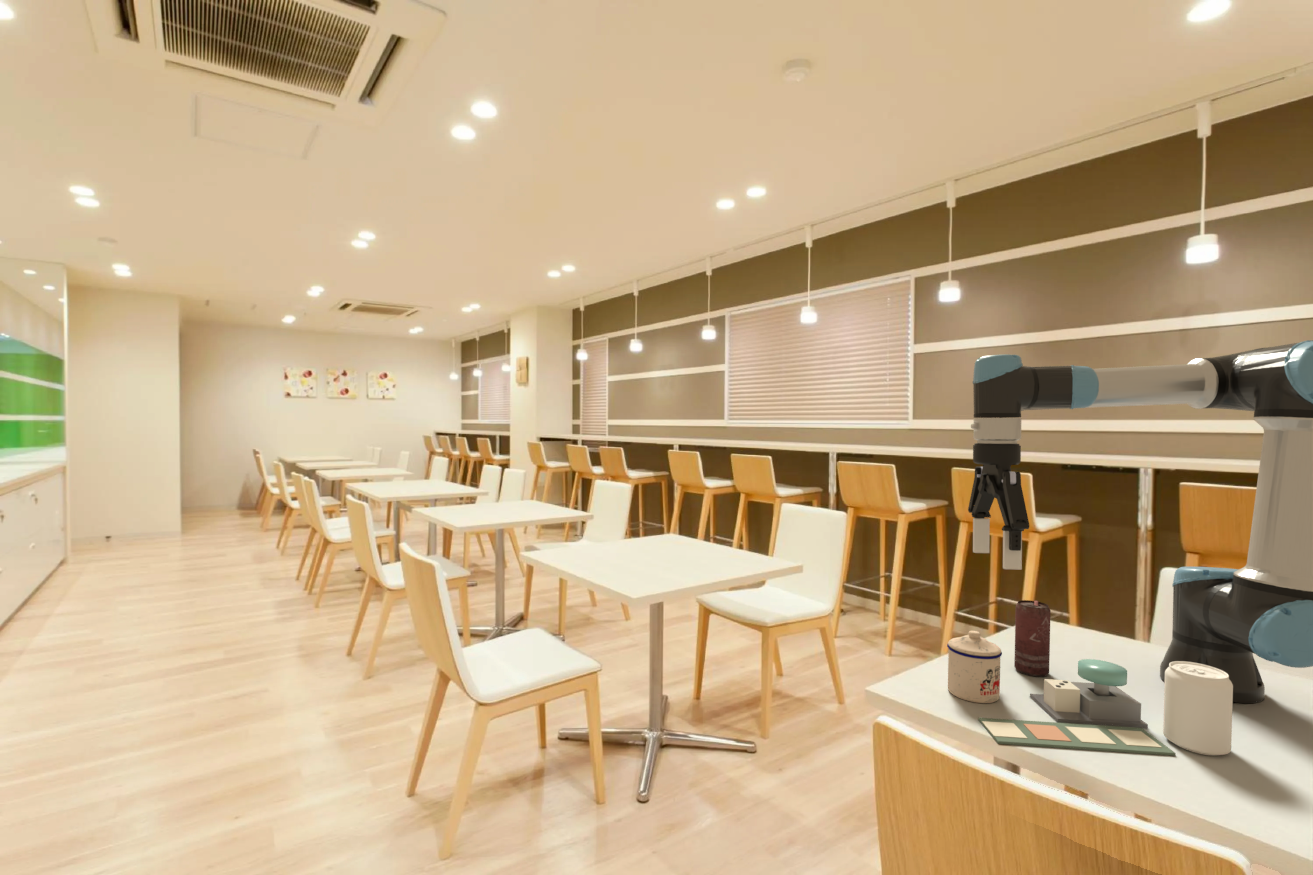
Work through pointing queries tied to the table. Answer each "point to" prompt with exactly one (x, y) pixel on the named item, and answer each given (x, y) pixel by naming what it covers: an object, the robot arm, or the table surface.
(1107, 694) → the dome cap
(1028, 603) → the can
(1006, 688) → the table surface
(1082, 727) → the track
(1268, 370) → the robot arm
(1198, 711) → the beverage can
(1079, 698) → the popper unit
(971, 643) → the teacup with lid
